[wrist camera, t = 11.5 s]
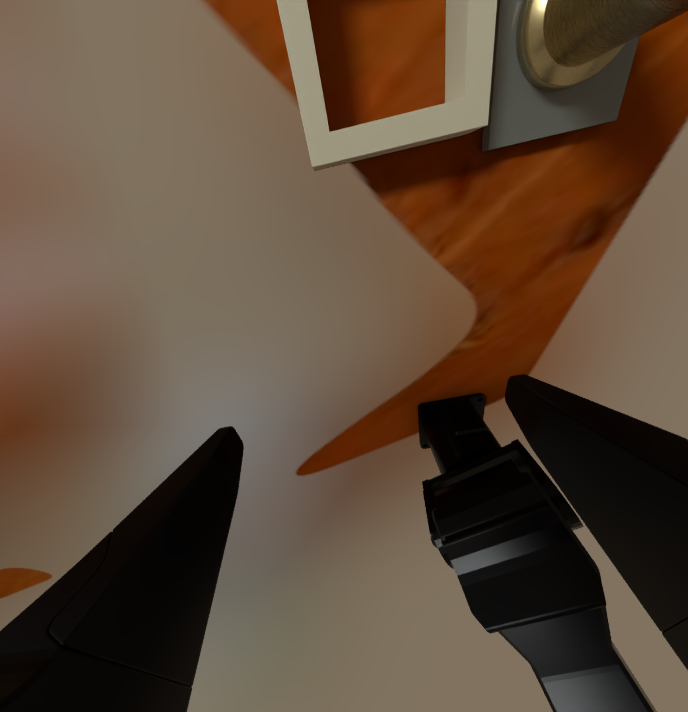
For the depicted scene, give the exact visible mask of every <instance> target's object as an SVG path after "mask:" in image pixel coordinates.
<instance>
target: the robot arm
mask: <svg viewBox="0 0 688 712" xmlns="http://www.w3.org/2000/svg"><path fill="white" fill-rule="evenodd" d="M479 398H480V399H479ZM485 400H486V398H485V396H484V395H483V394H481V393H478V394H472V395H466V396H461V397H455V398H449V399H444V400H438V401H432V402H427V403H422V404H420V405H419V406H418V421H419V438H420V445H421V448H423V449H426V448H431V450H432V453H433V455H434V457H435V460H436V462H437V465H438V468H439V470H440V472H441V475H439V476H437V477H435V478H432V479H430V480H428V479H427V480H425V481H423V482H422V483H423V490H424V491H423V494H424V500H425V507H426V513H427V519H428V525H429V531H430V534H431V541H432V543H433V545H434V546H435V547H436V548H438V549H439V551H440V553H441V555H442V557H443V558H444V560H445V561H446V563H447V564H448V565H449V566H450V567H451V568H453V569H454V570H455V572H456V574H457V576H458V579H459V581H460V584H461V586H462V589H463V591H464V594H465V597H466V599H467V602H468V605H469V607H470V610H471V612H472V614H473V615H474V616H475V618H476V619H477V620H478V621H479V622H480V623H481V625H482V626H483V627H484V628H485V630H486V631H487V632H489V633H494V632H499V633H500V634H501V635H502V636H503V637H504V638H505V639H506V640H507V641H508V642H509V643H510V644H511V645H512V646H513V647H514V648H515V649H516V650H517V651H518V652H519V653H520V654H521V655H522V656H523V657H524V658H525V659H526V660H527V661H528V662H529V664H530V665H531V667H532V669H533V671H534V673H535V675H536V677H537V679H538V681H539V683H540V685H541V687H542V689H543V691H544V694H545V696H546V698H547V700H548V702H549V704H550V706H551V708H552V710H553V712H657V711H656V710H655V708H654V706H653V705H652V703H651V702H650V700H649V698H648V697H647V696H646V694H645V693H644V691H643V689H642V688H641V686H640V684H639V683H638V681H637V680H636V678H635V677H634V675H633V674H632V672H631V670H630V669H629V668H628V666H627V664H626V663H625V661H624V660H623V658H622V656H621V655H620V653H619V652H618V650H617V649H616V647H615V646H614V644H613V642H612V641H611V636H610V629H609V623H608V618H607V612H606V601H605V596H604V591H603V587H602V582H601V576H600V572H599V569H598V567H597V565H596V564H595V562H594V561H593V559H592V558H591V557H590V555H589V554H588V552H587V551H586V549H585V548H584V546H583V545H582V544H581V542H580V541H579V539H578V538H577V536H576V535H575V534H574V532H573V531H572V530H575V529H578V528H581V527H583V524H582V523H581V521H580V520H579V518H578V517H577V515H576V514H575V512H574V511H573V509H572V508H571V506H570V505H569V504H568V502H567V501H566V499H565V498H564V497H563V495H562V494H561V493H560V491H559V490H558V489H557V487H556V486H555V485H554V483H553V482H552V481H551V480H550V478H549V477H548V476H547V475H546V473H545V472H544V471H543V470H542V468H541V467H540V466H539V465H538V464H537V462H536V461H535V460H534V459H533V458H532V456H531V455H530V454H529V453H528V451H527V450H526V449H525V448H524V446H523V445H522V444H521V443H520V442H519V440H518V439H517V440H514V441H512V442H511V444H508V445H506V446H504V447H501V446H500V444H499V443H498V441H497V440H496V438H495V437H494V435H493V434H492V432H491V431H490V429H489V428H488V427H487V425H486V424H485V422H484V421H483V415H484V407H485ZM505 400H506V403H507V405H508V407H509V409H510V411H511V412H512V414H513V416H514V418H515V420H516V421H517V423H518V425H519V427H520V429H521V430H522V432H523V434H524V436H525V437H526V439H527V441H528V443H529V444H530V446H531V448H532V449H533V451H534V452H535V454H536V455H537V456H538V458H539V459H540V461H541V462H542V464H543V465H544V466H545V468H546V469H547V470H548V472H549V473H550V475H551V476H552V478H553V479H554V481H555V482H556V483H557V485H558V486H559V487H560V489H561V491H562V492H563V493H564V495H565V496H566V498H567V499H568V501H569V502H570V503H571V505H572V506H573V508H574V509H575V510H576V512H577V513H578V515H579V516H580V517H581V519H582V520H583V522H584V523H585V525H586V526H587V527H588V529H589V530H590V532H591V533H592V535H593V536H594V537H595V539H596V540H597V542H598V543H599V544H600V546H601V547H602V549H603V550H604V552H605V553H606V554H607V556H608V557H609V559H610V560H611V562H612V563H613V564H614V566H615V567H616V569H617V570H618V572H619V573H620V574H621V576H622V577H623V579H624V580H625V581H626V583H627V584H628V586H629V587H630V588H631V590H632V591H633V593H634V594H635V596H636V597H637V598H638V600H639V601H640V603H641V604H642V606H643V607H644V608H645V610H646V611H647V613H648V614H649V616H650V617H651V618H652V620H653V621H654V623H655V624H656V625H657V627H658V628H659V630H660V631H662V634H663V636H664V637H665V639H666V640H667V642H668V643H669V644H670V646H671V647H672V649H673V650H674V652H675V653H676V654H677V656H678V657H679V659H680V660H681V662H682V663H683V664H684V666H685V667H686V669H687V670H688V440H687V439H686V438H683V437H681V436H678V435H676V434H673V433H671V432H668V431H666V430H663V429H661V428H658V427H655V426H653V425H651V424H648V423H646V422H643V421H641V420H638V419H635V418H633V417H630V416H628V415H626V414H623V413H620V412H618V411H615V410H613V409H610V408H608V407H605V406H603V405H600V404H598V403H595V402H593V401H590V400H588V399H585V398H583V397H580V396H578V395H575V394H573V393H570V392H568V391H565V390H563V389H560V388H558V387H555V386H552V385H550V384H548V383H545V382H543V381H540V380H538V379H535V378H532V377H530V376H528V375H524V374H521V375H515V376H511V377H509V379H508V382H507V387H506V393H505ZM422 408H423V409H422ZM243 449H244V448H243V442H242V440H241V439H240V437H239V435H238V434H237V432H236V430H235V429H234V428H233V427H231V426H229V427H224V428H220V429H218V430H217V431H216V432H215V433H214V434H213V435H212V436H211V437H210V438H209V439H208V440H207V441H205V442H204V443H203V444H202V445H201V446H200V447H199V448H198V449H197V450H196V451H195V452H194V453H193V454H192V455H191V456H190V457H189V458H188V459H187V460H186V461H184V462H183V463H182V464H181V465H180V466H179V467H178V468H177V469H176V470H175V471H174V472H173V473H172V474H171V475H170V476H169V477H168V478H167V479H166V480H165V481H163V482H162V483H161V484H160V485H159V486H158V487H157V488H156V489H155V490H154V491H153V492H152V493H151V494H150V495H149V496H148V497H147V498H146V499H145V500H143V502H141V503H140V504H139V505H138V506H137V507H136V508H135V509H134V510H133V511H132V512H131V513H130V514H129V515H128V516H127V517H126V518H125V519H124V520H122V521H121V522H120V524H118V525H117V526H116V527H115V528H114V529H113V532H110V533H109V534H108V535H107V536H106V537H105V538H103V540H101V541H100V542H99V543H98V544H97V545H96V546H95V547H94V548H93V549H92V550H91V551H90V552H89V553H88V554H87V555H85V557H83V558H82V559H81V560H80V561H79V562H78V563H77V564H76V565H75V566H74V567H73V568H71V569H70V570H69V571H68V572H67V573H66V574H65V575H64V576H62V578H60V579H59V580H58V581H57V582H56V583H55V584H53V585H52V586H51V587H50V588H49V589H48V590H47V591H46V592H44V593H43V594H42V595H41V596H40V597H39V598H38V599H36V600H35V601H34V602H33V603H32V604H31V605H30V606H28V607H27V608H26V609H25V610H24V611H23V612H22V613H20V614H19V615H18V616H17V617H16V618H15V619H13V620H12V621H11V622H10V623H9V624H8V625H7V626H5V627H4V628H3V629H2V630H1V631H0V712H187V708H188V704H189V700H190V695H191V691H192V687H191V686H192V685H193V681H194V677H195V673H196V669H197V665H198V661H199V656H200V652H201V648H202V644H203V639H204V635H205V630H206V626H207V622H208V618H209V614H210V609H211V605H212V601H213V597H214V593H215V588H216V584H217V580H218V575H219V571H220V567H221V562H222V559H223V554H224V550H225V545H226V542H227V537H228V533H229V529H230V525H231V520H232V516H233V511H234V507H235V503H236V499H237V494H238V488H239V481H240V472H241V465H242V457H243Z"/></svg>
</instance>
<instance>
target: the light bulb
mask: <svg viewBox="0 0 688 712" xmlns="http://www.w3.org/2000/svg"><path fill="white" fill-rule="evenodd" d="M687 11H688V0H523V3H522V6H521V10H520V14H519V18H518V25H517V33H516V51H517V58H518V62H519V66H520V68H521V71H522V73H523V75H524V76H525V78H526V79H527V81H528V82H529V83H530V84H531V85H533V86H534V87H535V88H538V89H540V90H543V91H559V90H562V89H565V88H568V87H570V86H572V85H574V84H577V83H579V82H581V81H583V80H585V79H587V78H589V77H591V76H593V75H594V74H596V73H597V72H599V71H600V70H601V69H602V68H604V67H605V66H606V65H607V64H608V63H609V62H610V61H611V60H612V59H613V58H614V57H615V56H616V55H617V54H618V52H619V51H620V50H621V49H622V47H623V46H624V45H625V44H626V43H627V42H629V41H631V40H633V39H635V38H637V37H638V36H640V35H642V34H644V33H646V32H648V31H650V30H652V29H654V28H656V27H658V26H660V25H662V24H664V23H666V22H668V21H670V20H672V19H674V18H676V17H677V16H679V15H681V14H683V13H685V12H687Z"/></svg>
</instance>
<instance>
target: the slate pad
mask: <svg viewBox="0 0 688 712" xmlns="http://www.w3.org/2000/svg"><path fill="white" fill-rule="evenodd" d="M522 3H523V0H497V10H496V23H495V36H494V50H493V63H492V76H491V89H490V102H489V116H488V125H487V126H484V127H483V139H482V152H484V151H488V150H493V149H497V148H501V147H505V146H510V145H514V144H518V143H523V142H527V141H531V140H535V139H540V138H544V137H548V136H552V135H557V134H561V133H565V132H569V131H574V130H578V129H582V128H587V127H591V126H595V125H599V124H604V123H608V122H611V121H615V120H617V118H618V114H619V110H620V107H621V103H622V99H623V96H624V92H625V89H626V85H627V81H628V78H629V74H630V70H631V67H632V63H633V59H634V56H635V52H636V48H637V45H638V41H639V38H640V36H638V37H637V38H635V39H633V40H631V41H629V42H627V43H626V44H625V45H624V46H623V47H622V49H621V50H620V51H619V52H618V54H617V55H616V56H615V57H614V58H613V59H612V60H611V61H610V62H609V63H608V64H607V65H606V66H605V67H604V68H602V69H601V70H600V71H599V72H597V73H596V74H594V75H593V76H591V77H589V78H587V79H585V80H583V81H581V82H579V83H577V84H574V85H572V86H570V87H568V88H565V89H562V90H559V91H543V90H540V89H538V88H535V87H534V86H533V85H531V84H530V83H529V82H528V81H527V79H526V78H525V76H524V75H523V73H522V71H521V68H520V66H519V62H518V58H517V51H516V33H517V25H518V18H519V14H520V10H521V6H522Z"/></svg>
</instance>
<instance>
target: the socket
mask: <svg viewBox="0 0 688 712" xmlns="http://www.w3.org/2000/svg"><path fill="white" fill-rule="evenodd" d="M277 4H278V9H279V14H280V18H281V23H282V28H283V32H284V37H285V42H286V47H287V51H288V56H289V61H290V65H291V70H292V75H293V80H294V84H295V89H296V94H297V98H298V103H299V108H300V112H301V117H302V122H303V127H304V131H305V136H306V140H307V145H308V150H309V155H310V159H311V164H312V168H313V169H314V171H316V170H320V169H324V168H329V167H333V166H337V165H341V164H346V163H350V162H354V161H358V160H362V159H366V158H371V157H375V156H379V155H383V154H387V153H391V152H396V151H400V150H404V149H408V148H412V147H417V146H421V145H425V144H429V143H433V142H437V141H442V140H446V139H450V138H454V137H458V136H463V135H466V134H468V133H471V132H473V131H475V130H477V129H480V128H482V127H484V126H487V125H488V116H489V102H490V89H491V76H492V63H493V50H494V36H495V23H496V10H497V0H446V58H445V103H444V104H440V105H436V106H432V107H428V108H424V109H420V110H416V111H412V112H408V113H404V114H400V115H396V116H392V117H388V118H384V119H380V120H376V121H372V122H368V123H364V124H360V125H356V126H352V127H348V128H344V129H340V130H336V131H332V132H329V126H328V120H327V115H326V109H325V103H324V97H323V91H322V86H321V80H320V74H319V68H318V63H317V57H316V51H315V45H314V39H313V34H312V28H311V22H310V16H309V11H308V5H307V0H277Z"/></svg>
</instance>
